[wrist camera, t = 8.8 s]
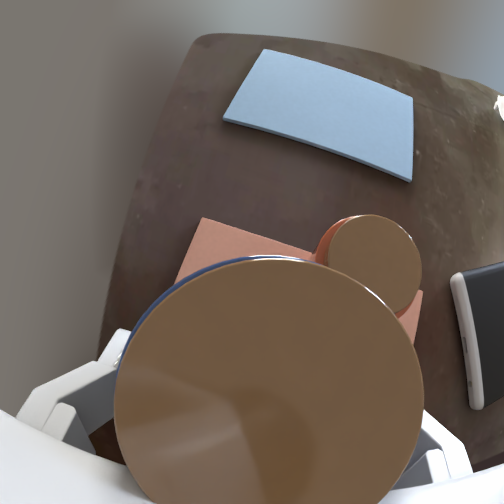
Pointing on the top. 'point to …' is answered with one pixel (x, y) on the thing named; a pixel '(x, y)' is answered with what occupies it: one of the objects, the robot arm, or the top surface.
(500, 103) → the white sheep figurine
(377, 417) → the blue jar
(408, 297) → the terracotta jar
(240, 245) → the clay mat
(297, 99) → the blue mat
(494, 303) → the smartphone
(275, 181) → the top surface
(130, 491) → the robot arm
